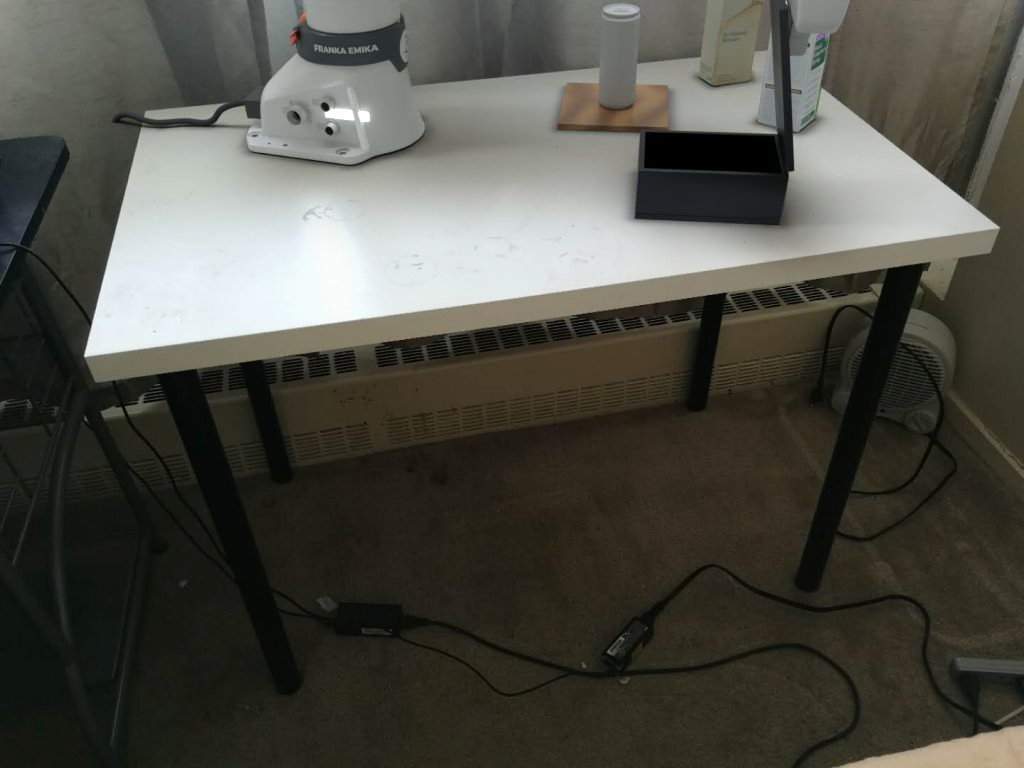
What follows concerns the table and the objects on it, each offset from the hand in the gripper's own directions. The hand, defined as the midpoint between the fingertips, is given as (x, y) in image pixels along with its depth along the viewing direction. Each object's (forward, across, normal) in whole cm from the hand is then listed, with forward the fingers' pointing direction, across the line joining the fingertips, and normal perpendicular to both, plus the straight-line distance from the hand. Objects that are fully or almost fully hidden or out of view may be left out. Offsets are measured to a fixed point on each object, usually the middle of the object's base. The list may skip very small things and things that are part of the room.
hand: (794, 50), depth 84 cm
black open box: (+16, 0, -7) cm, 18 cm away
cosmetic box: (+17, -36, -3) cm, 40 cm away
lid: (+2, 0, -1) cm, 3 cm away
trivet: (+16, -24, -18) cm, 34 cm away
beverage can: (+16, -24, -17) cm, 34 cm away
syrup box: (+16, -22, +4) cm, 28 cm away
